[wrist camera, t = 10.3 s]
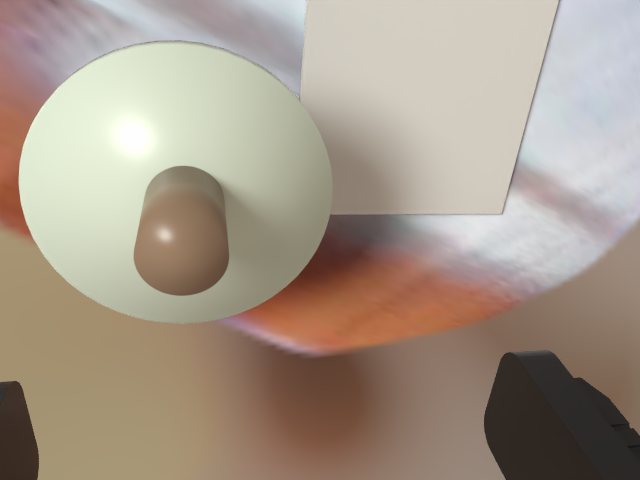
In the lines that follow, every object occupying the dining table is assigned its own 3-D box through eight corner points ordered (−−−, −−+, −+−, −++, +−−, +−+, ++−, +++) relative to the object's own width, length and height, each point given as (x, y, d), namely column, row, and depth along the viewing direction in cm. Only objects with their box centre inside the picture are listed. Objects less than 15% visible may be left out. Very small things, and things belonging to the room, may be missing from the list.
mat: (559, -18, 35) (563, -18, 35) (498, 210, 43) (501, 213, 42) (308, -40, 32) (310, -40, 32) (291, 211, 40) (292, 215, 39)
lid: (342, 49, 25) (379, 81, 20) (316, 306, 32) (339, 381, 26) (-3, 30, 22) (-64, 63, 17) (49, 317, 29) (17, 403, 24)
